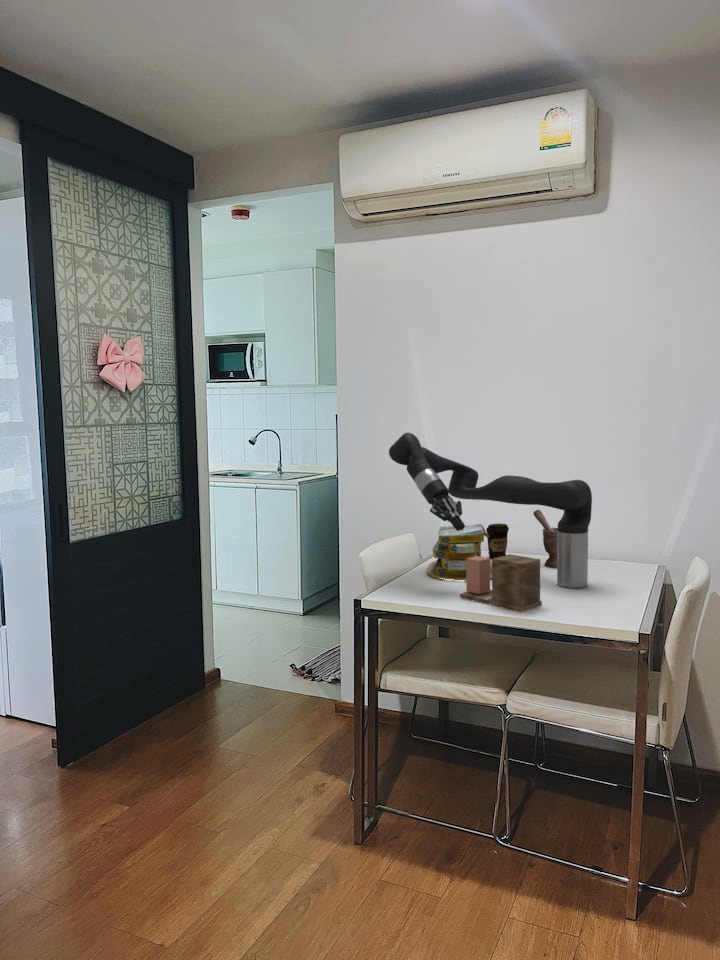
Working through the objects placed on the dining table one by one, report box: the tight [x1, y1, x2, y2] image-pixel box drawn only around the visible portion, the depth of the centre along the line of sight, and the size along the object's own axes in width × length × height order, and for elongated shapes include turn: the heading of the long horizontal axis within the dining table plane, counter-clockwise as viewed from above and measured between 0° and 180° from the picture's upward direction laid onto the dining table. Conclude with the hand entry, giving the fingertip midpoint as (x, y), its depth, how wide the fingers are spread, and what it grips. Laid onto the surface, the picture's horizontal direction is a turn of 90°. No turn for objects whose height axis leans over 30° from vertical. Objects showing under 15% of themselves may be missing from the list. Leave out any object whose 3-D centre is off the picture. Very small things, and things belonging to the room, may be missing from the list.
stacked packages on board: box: [426, 523, 492, 580], centre depth 248 cm, size 25×25×17 cm
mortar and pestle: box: [532, 509, 558, 568], centre depth 257 cm, size 12×9×20 cm
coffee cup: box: [485, 523, 510, 560], centre depth 270 cm, size 9×8×13 cm
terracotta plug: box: [465, 556, 491, 594], centre depth 218 cm, size 5×5×10 cm
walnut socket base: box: [459, 553, 543, 613], centre depth 212 cm, size 22×10×13 cm, turn 42°
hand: (461, 528), depth 222 cm, fingers closed
